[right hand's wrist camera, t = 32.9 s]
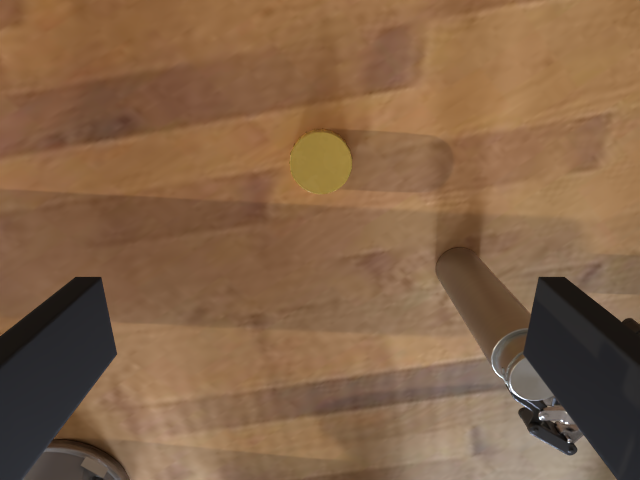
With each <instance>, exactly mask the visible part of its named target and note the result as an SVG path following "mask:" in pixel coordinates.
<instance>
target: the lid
mask: <svg viewBox="0 0 640 480" xmlns="http://www.w3.org/2000/svg"><path fill="white" fill-rule="evenodd" d="M293 147H294V148H293V150H292V151H291V153H290V155H291V157H290V162H289V164H290V170H291V173H292V176H293V178H294V180H295V181H296V182H297V184H298V185H299V186H300V187H302V188H303V189H304V190H306V191H308V192H311V193H315V194H327V193H331V192H333V191H335V190H337V189H339V188H340V187H341V186H342V185H343V184H344V183H345V182H346V181H347V179H348V177H349V176H350V172H351V168H352V156H351V153H350V149H349V147H348V146H347V144H346V142H345V140H343V139H342V138H341V137H340V136H339V134H336V133H334V132H332V130H330V131H329V130H325V129H323V128H322V129H317V130H315V129H314V130H312V131H310V132H306V134H304V135H303V136H302V137H299V140H298V141H297V142H296V144H294V146H293Z"/></svg>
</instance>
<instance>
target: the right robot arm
mask: <svg viewBox="0 0 640 480" xmlns="http://www.w3.org/2000/svg"><path fill="white" fill-rule="evenodd" d="M116 355H117V351H116V347H115V342H114V337H113V332H112V327H111V322H110V318H109V313H108V308H107V303H106V298H105V293H104V289H103V284H102V279H101V277H75V278H74V279H72V280H71V281H70V282H69V283H67V284H66V285H65V286H64V287H62V288H61V289H60V290H59V291H57V292H56V293H55V294H53V295H52V296H51V297H50V298H48V299H47V300H46V301H45V302H43V303H42V304H41V305H39V306H38V307H37V308H36V309H34V310H33V311H32V312H31V313H29V314H28V315H27V316H25V317H24V318H23V319H22V320H20V321H19V322H18V323H17V324H15V325H14V326H13V327H12V328H10V329H9V330H8V331H6V332H5V333H4V334H3V335H1V336H0V480H130V479H129V477H128V475H127V473H126V472H125V470H124V469H123V468H122V467H121V465H120V464H119V463H118V462H117V461H116V460H114V459H113V458H112V457H111V456H109V455H108V454H106V453H105V452H103V451H101V450H99V449H97V448H95V447H93V446H90V445H87V444H84V443H80V442H76V441H70V440H53V439H54V437H55V436H56V435H57V433H58V432H59V431H60V429H61V428H62V427H63V425H64V424H65V423H66V421H67V420H68V419H69V417H70V416H71V415H72V413H73V412H74V411H75V409H76V408H77V407H78V405H79V404H80V403H81V401H82V400H83V399H84V397H85V396H86V395H87V393H88V392H89V391H90V389H91V388H92V387H93V385H94V384H95V383H96V381H97V380H98V379H99V377H100V376H101V375H102V373H103V372H104V371H105V369H106V368H107V367H108V366H109V364H110V363H111V362H112V360H113V359H114V358H115V356H116ZM523 355H524V356H525V358H526V359H527V360H528V362H529V363H530V364H531V366H532V367H533V368H534V369H535V371H536V372H537V373H538V375H539V376H540V377H541V379H542V380H543V381H544V383H545V384H546V385H547V387H548V388H549V389H550V391H551V392H552V393H553V395H554V396H555V397H556V399H557V400H558V401H559V403H560V404H561V405H562V407H563V408H564V409H565V411H566V412H567V413H568V415H569V416H570V417H571V419H572V420H573V421H574V423H575V424H576V425H577V427H578V428H579V429H580V431H581V432H582V433H583V435H584V436H585V437H586V439H587V440H588V441H589V443H590V444H591V445H592V447H593V448H594V449H595V451H596V452H597V453H598V455H599V456H600V457H601V458H602V460H603V461H604V462H605V464H606V465H607V466H608V468H609V469H610V470H611V472H612V473H613V474H614V476H615V477H616V478H617V480H640V336H639V335H637V334H636V333H635V332H634V331H632V330H631V329H630V328H628V327H627V326H626V325H625V324H623V323H622V322H621V321H620V320H618V319H617V318H616V317H615V316H613V315H612V314H611V313H609V312H608V311H607V310H606V309H604V308H603V307H602V306H601V305H599V304H598V303H597V302H595V301H594V300H593V299H592V298H590V297H589V296H588V295H587V294H585V293H584V292H583V291H581V290H580V289H579V288H578V287H576V286H575V285H574V284H573V283H571V282H570V281H569V280H568V279H566V278H565V277H539V279H538V284H537V288H536V293H535V298H534V303H533V308H532V313H531V318H530V322H529V327H528V332H527V337H526V342H525V347H524V351H523Z"/></svg>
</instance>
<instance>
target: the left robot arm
mask: <svg viewBox="0 0 640 480" xmlns="http://www.w3.org/2000/svg"><path fill="white" fill-rule="evenodd" d="M622 323H623V324H625V325H626V326H627V327H628V328H630V329H631V330H632V331H634V332H635V333H636V334H637V335H639V336H640V324H638V323H637V322H636V321H634V320H633V319H631V318H628V319H625V320H624V321H623V322H622ZM506 386H507V384H506ZM507 388H508V386H507ZM508 390H509V391H510V393H511V395H512V396H513V398H514V399H515V400H516V401H518V402H519V403H521V404H522V405H524V406H525V407H523V408H521V409H520V410H519V412H518V414H519V416H520V417H521V419H522V420H523V421H524V423H525V425H526V426H527V429H528V431H529V432H530V434H532V435H533V436H535V437H537V438H539V439H540V440H542V441H544V442H546V443H547V444H549V445H551V446H553V447H554V448H556V449H558V450H560V451H561V452H563V453H565V454H567V455H573V454H575V453H576V452H577V448H576V446H575V445H574V443H575V442H576V441H577V440H578V439H579V438H581V437H582V436H583V433H582V432H581V431H580V429H579V428H578V427H577V425H576V424H575V423H574V421H573V420H572V419H571V417H570V416H569V415H568V413H567V412H566V411H565V409H564V408H563V407H562V405H561V404H560V403H559V401H558V400H557V399H556V397H555V396H552V397H549V398H547V399H543V400H537V401H531V400H526V399H523V398H521V397H518V396H517V395H515V394H514V393H512V391H511V390H510V389H509V388H508ZM547 406H552V407H547ZM551 421H556V422H555V423H553V422H551ZM559 421H563V422H564V423H566V424H570V425H565V424H560V422H559Z"/></svg>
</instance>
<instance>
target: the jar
mask: <svg viewBox="0 0 640 480" xmlns="http://www.w3.org/2000/svg"><path fill="white" fill-rule="evenodd" d="M436 275H437V277H438V279H439V281H440V282H441V284H442V286H443V287H444V289H445V291H446V292H447V294H448V295H449V297H450V299H451V300H452V302H453V304H454V305H455V307H456V309H457V310H458V312H459V314H460V315H461V317H462V318H463V320H464V322H465V323H466V325H467V327H468V328H469V330H470V332H471V333H472V335H473V337H474V338H475V340H476V341H477V343H478V345H479V346H480V348H481V350H482V351H483V353H484V355H485V356H486V358H487V360H488V361H489V363H490V364H491V366H492V368H493V369H494V371H495V372H496V373H497V374H498V375H499V376H500V377H502V378H503V380H504V381H505V383H506V384H507V386H508V388H509V389H510V390H511V391H512V393H514V394H515V395H517V396H518V397H521V398H523V399H526V400H531V401H537V400H543V399H547V398H549V397H552V396H554V395H553V393H552V392H551V391H550V389H549V388H548V387H547V385H546V384H545V383H544V381H543V380H542V379H541V377H540V376H539V375H538V373H537V372H536V371H535V369H534V368H533V367H532V366H531V364H530V363H529V362H528V360H527V359H526V358H525V356H524V355H523V351H524V347H525V342H526V337H527V332H528V327H529V322H530V318H531V314H530V313H529V312H528V311H527V310H526V308H525V307H524V306H523V305H522V304H521V303H520V302H519V301H518V300H517V299H516V298H515V296H514V295H513V294H512V293H511V292H510V291H509V290H508V289H507V288H506V287H505V286H504V284H503V283H502V282H501V281H500V280H499V279H498V278H497V277H496V276H495V275H494V274H493V272H492V271H491V270H490V269H489V268H488V267H487V266H486V265H485V264H484V263H483V262H482V261H481V259H480V258H479V257H478V256H477V255H476V254H475V253H474V252H473V251H471V250H470V249H467V248H462V247H458V248H453V249H450V250H448V251H446V252H445V253H444V254H443V255H442V256H441V257H440V258H439V260H438V262H437V264H436Z"/></svg>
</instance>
